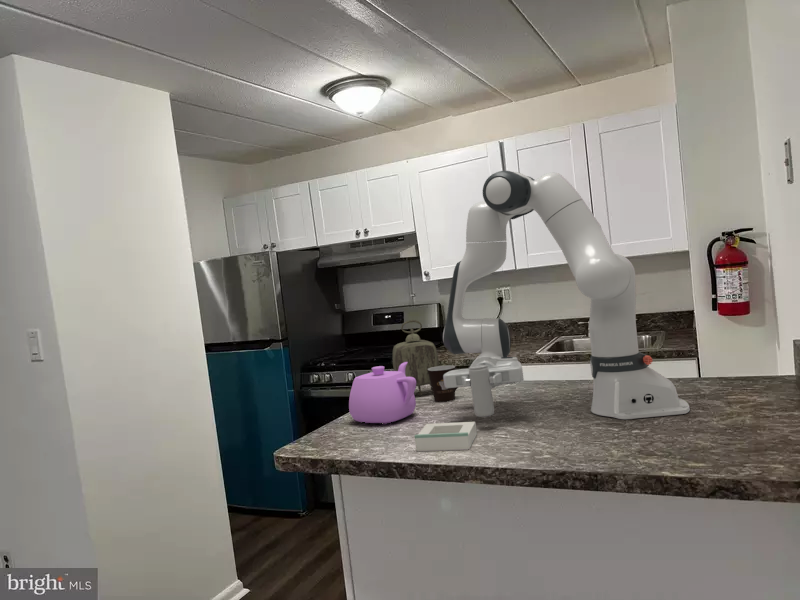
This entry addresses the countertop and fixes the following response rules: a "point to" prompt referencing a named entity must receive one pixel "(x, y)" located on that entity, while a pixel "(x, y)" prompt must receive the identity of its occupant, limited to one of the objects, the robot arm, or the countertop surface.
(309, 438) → the countertop surface
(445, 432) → the socket block
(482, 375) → the beverage can
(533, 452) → the countertop surface
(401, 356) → the tabletop clock
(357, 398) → the teapot
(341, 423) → the countertop surface
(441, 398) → the coffee mug
